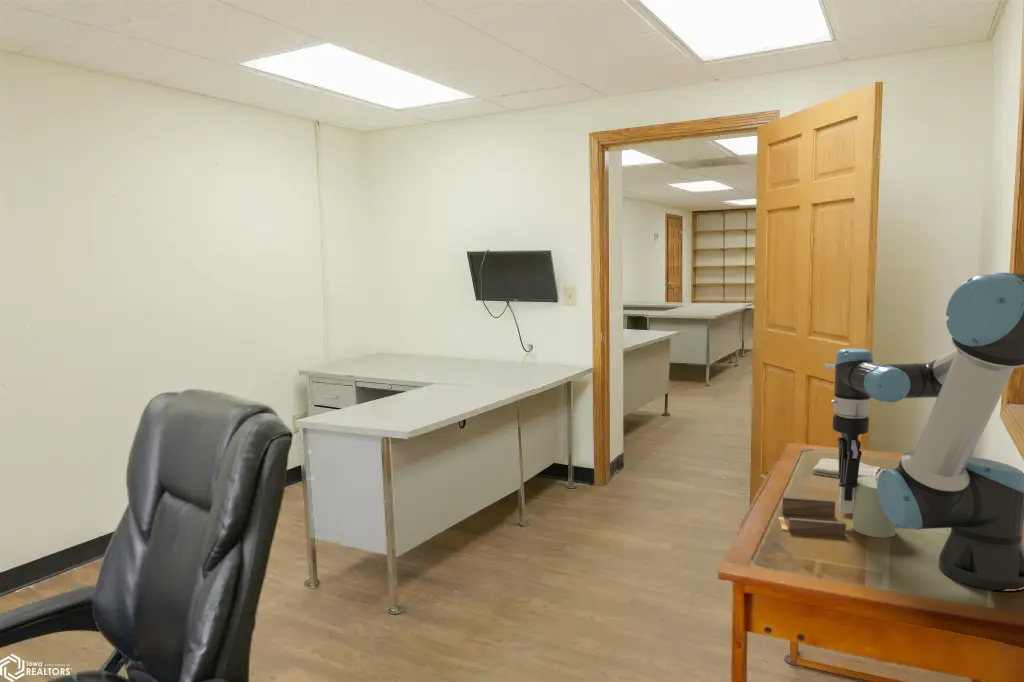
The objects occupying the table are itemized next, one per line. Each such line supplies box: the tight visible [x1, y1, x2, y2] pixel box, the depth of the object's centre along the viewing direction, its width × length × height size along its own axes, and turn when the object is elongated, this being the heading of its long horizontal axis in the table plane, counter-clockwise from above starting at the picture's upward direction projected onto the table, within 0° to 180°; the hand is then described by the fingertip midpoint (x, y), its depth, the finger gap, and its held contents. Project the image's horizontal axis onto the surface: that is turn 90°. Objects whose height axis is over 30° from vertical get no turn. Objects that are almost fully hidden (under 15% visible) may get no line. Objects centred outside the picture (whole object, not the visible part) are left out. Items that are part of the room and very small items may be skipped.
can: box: [851, 476, 897, 539], centre depth 159 cm, size 9×9×12 cm
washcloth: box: [811, 457, 884, 479], centre depth 202 cm, size 12×18×3 cm, turn 55°
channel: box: [777, 496, 847, 538], centre depth 165 cm, size 13×14×4 cm
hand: (845, 511), depth 162 cm, fingers closed
